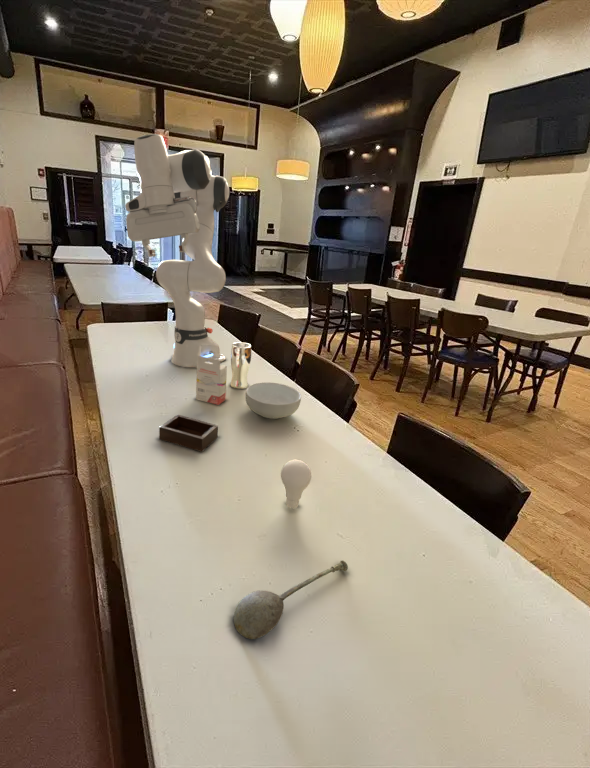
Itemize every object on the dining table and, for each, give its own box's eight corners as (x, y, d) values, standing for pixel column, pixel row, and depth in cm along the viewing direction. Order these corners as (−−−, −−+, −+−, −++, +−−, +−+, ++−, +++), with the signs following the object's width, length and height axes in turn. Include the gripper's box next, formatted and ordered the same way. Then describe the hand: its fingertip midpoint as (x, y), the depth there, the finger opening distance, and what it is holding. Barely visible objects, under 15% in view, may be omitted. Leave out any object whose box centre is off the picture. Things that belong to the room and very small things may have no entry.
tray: (177, 425, 115) (177, 414, 113) (217, 437, 111) (218, 425, 109) (159, 439, 107) (159, 426, 106) (201, 451, 103) (202, 439, 102)
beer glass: (249, 383, 149) (253, 343, 143) (247, 390, 142) (250, 348, 137) (230, 381, 149) (233, 341, 144) (227, 388, 143) (230, 346, 137)
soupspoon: (224, 615, 62) (248, 653, 57) (225, 600, 60) (250, 637, 56) (331, 555, 74) (358, 583, 69) (334, 541, 72) (362, 568, 67)
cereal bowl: (269, 431, 116) (272, 408, 113) (233, 409, 127) (234, 388, 125) (310, 417, 127) (313, 395, 124) (273, 398, 138) (275, 378, 135)
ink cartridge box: (226, 400, 133) (228, 356, 128) (218, 405, 129) (221, 361, 124) (202, 394, 136) (204, 351, 131) (195, 399, 132) (196, 355, 127)
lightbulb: (272, 501, 87) (277, 456, 83) (297, 496, 89) (303, 452, 85) (285, 520, 82) (291, 472, 78) (311, 513, 84) (319, 467, 80)
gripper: (198, 196, 112) (206, 249, 116) (131, 208, 117) (140, 259, 120) (190, 193, 106) (198, 249, 110) (119, 205, 111) (129, 258, 114)
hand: (167, 254), depth 115 cm, fingers open, 8 cm apart
